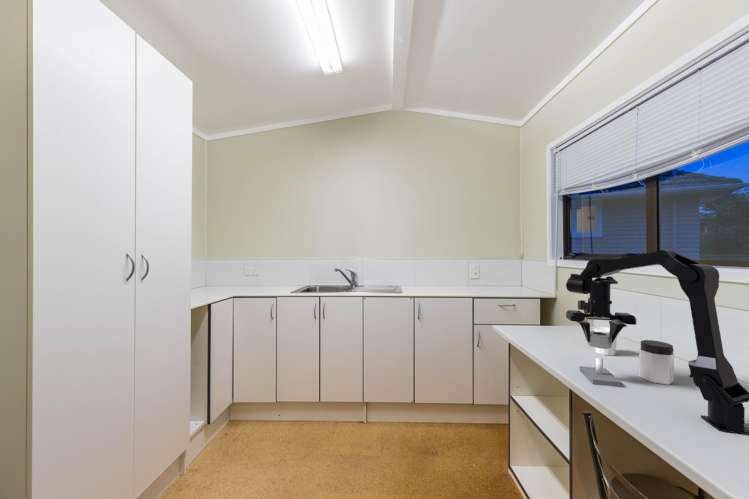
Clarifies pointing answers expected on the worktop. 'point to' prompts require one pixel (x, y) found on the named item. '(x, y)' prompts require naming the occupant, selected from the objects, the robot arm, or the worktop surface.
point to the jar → (656, 362)
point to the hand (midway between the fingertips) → (599, 342)
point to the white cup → (605, 351)
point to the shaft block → (600, 375)
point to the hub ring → (600, 340)
